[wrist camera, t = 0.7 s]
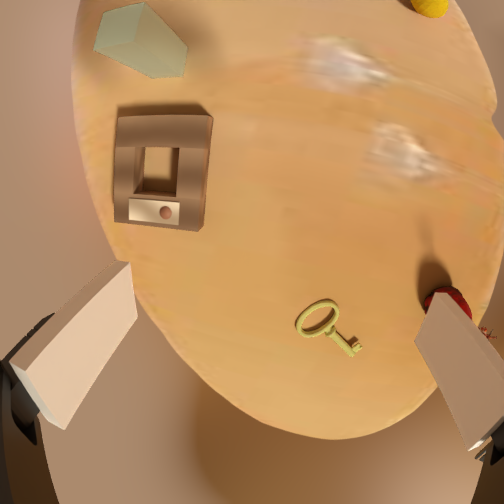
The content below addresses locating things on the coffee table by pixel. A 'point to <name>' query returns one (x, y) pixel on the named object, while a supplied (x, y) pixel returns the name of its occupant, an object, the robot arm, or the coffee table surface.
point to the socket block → (188, 178)
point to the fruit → (430, 7)
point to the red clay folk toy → (458, 299)
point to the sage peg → (141, 41)
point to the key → (326, 327)
